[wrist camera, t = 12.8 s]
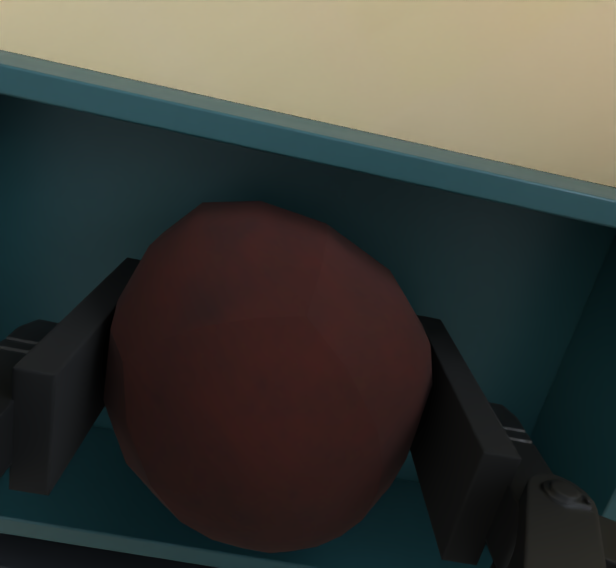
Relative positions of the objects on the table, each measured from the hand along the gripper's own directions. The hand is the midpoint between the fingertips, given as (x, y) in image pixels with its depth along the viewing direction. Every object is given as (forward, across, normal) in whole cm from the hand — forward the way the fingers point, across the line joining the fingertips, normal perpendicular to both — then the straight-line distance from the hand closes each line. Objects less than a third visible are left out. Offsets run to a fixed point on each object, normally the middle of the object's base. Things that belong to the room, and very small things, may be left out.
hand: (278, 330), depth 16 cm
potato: (+1, 0, 0) cm, 1 cm away
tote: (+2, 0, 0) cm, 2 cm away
